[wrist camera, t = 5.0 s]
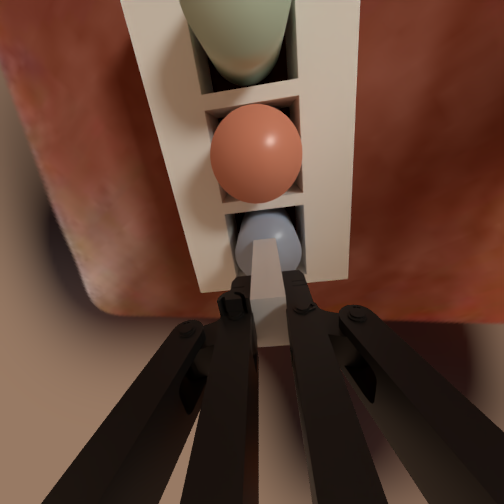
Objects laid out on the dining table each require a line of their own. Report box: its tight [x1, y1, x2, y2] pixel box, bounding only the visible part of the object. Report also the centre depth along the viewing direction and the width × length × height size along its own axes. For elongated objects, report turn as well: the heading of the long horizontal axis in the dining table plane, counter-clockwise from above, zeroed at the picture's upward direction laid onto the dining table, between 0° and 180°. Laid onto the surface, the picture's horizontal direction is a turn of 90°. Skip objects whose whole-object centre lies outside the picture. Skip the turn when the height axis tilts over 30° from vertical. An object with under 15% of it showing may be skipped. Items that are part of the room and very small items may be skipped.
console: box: [120, 0, 360, 293], centre depth 17 cm, size 20×12×5 cm, turn 8°
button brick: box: [210, 104, 302, 204], centre depth 14 cm, size 5×5×6 cm
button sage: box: [179, 0, 292, 86], centre depth 12 cm, size 5×5×6 cm
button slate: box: [235, 207, 302, 276], centre depth 19 cm, size 5×5×6 cm
